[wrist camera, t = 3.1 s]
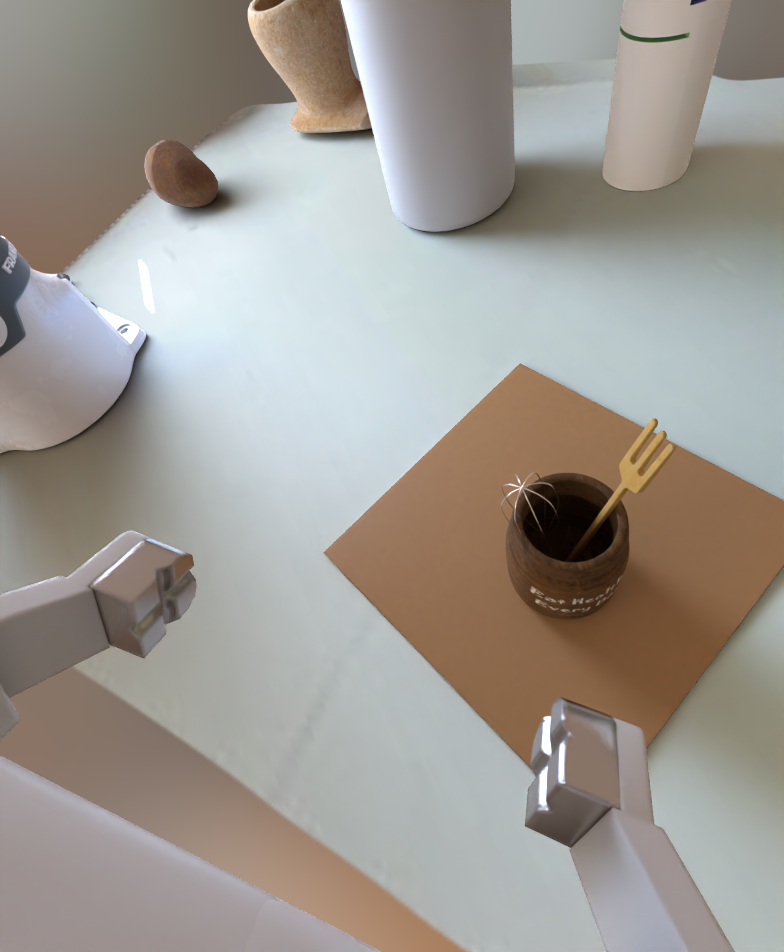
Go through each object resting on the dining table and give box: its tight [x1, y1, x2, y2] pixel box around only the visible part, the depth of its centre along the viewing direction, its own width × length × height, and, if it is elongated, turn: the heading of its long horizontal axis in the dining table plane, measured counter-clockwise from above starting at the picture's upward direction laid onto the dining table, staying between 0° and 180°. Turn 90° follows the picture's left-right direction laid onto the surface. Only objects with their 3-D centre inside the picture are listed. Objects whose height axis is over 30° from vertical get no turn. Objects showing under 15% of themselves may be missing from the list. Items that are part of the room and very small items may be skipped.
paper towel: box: [324, 364, 784, 769], centre depth 29 cm, size 20×20×1 cm
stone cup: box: [248, 0, 372, 133], centre depth 58 cm, size 15×12×15 cm
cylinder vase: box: [341, 0, 515, 232], centre depth 39 cm, size 12×12×25 cm
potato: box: [144, 140, 218, 208], centre depth 60 cm, size 7×10×7 cm
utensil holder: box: [501, 419, 676, 620], centre depth 23 cm, size 6×6×12 cm
